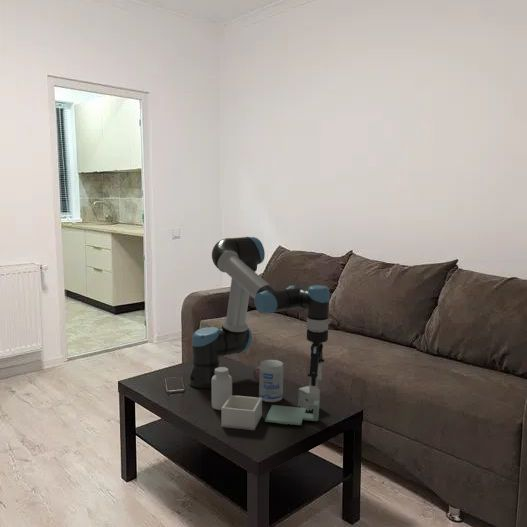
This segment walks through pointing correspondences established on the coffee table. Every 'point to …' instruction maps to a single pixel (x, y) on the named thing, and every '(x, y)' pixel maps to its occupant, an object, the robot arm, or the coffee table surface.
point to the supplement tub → (271, 380)
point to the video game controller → (256, 373)
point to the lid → (291, 414)
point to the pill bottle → (221, 387)
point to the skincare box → (307, 398)
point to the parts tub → (241, 412)
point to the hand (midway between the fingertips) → (315, 386)
